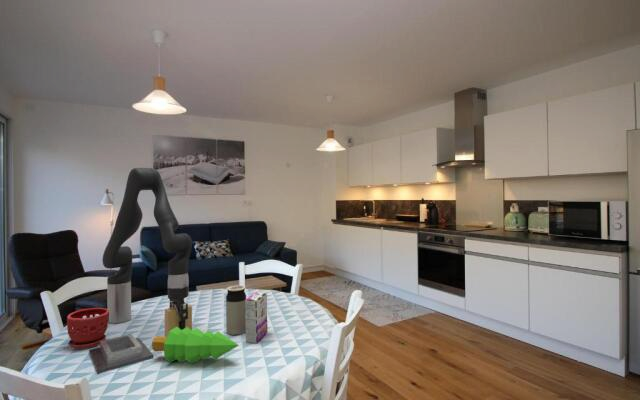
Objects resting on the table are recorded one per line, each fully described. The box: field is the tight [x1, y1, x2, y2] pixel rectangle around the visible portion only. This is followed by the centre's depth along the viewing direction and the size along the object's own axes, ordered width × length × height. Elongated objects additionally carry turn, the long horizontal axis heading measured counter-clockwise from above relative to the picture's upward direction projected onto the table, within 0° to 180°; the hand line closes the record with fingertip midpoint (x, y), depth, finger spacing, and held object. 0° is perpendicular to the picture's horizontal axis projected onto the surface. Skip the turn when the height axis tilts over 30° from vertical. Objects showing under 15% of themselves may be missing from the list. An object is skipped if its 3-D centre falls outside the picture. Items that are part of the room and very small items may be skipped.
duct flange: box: [88, 333, 154, 375], centre depth 116 cm, size 20×16×4 cm
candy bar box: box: [245, 291, 268, 344], centre depth 130 cm, size 11×5×16 cm, turn 168°
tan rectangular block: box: [164, 303, 193, 337], centre depth 130 cm, size 4×9×12 cm, turn 131°
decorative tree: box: [151, 327, 240, 365], centre depth 111 cm, size 11×12×30 cm
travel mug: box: [225, 285, 247, 336], centre depth 137 cm, size 8×8×18 cm
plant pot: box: [66, 307, 109, 350], centre depth 126 cm, size 13×13×12 cm
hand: (178, 327), depth 130 cm, fingers open, 7 cm apart
